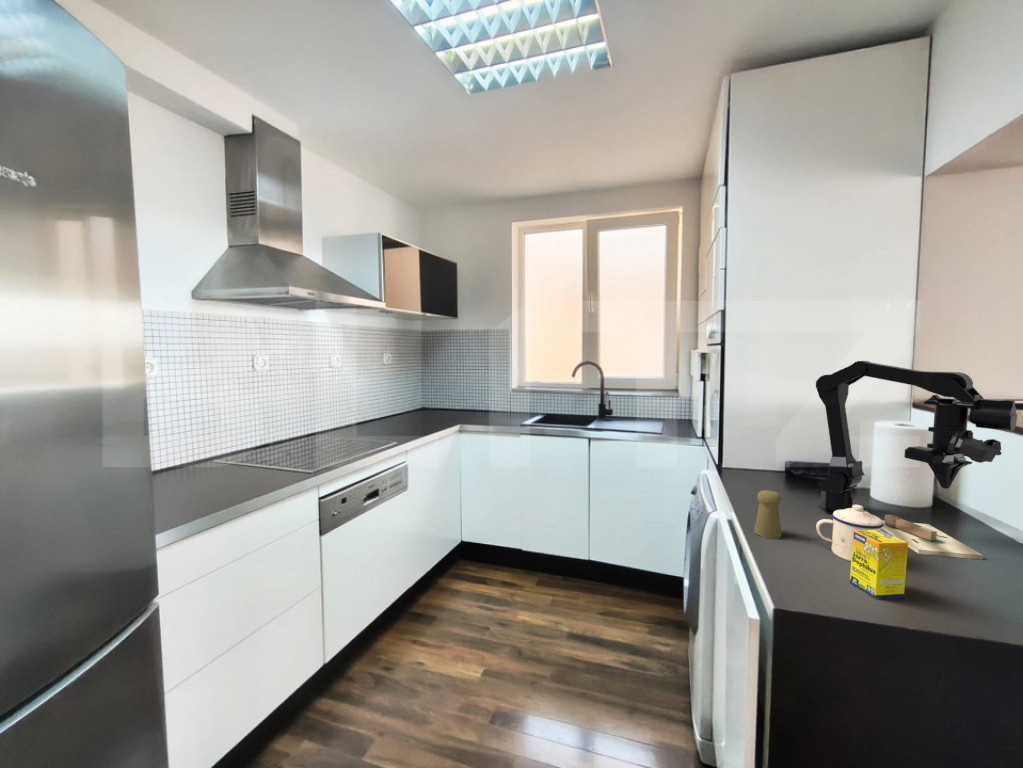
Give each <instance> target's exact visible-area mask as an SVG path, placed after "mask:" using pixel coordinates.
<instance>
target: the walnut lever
mask: <svg viewBox="0 0 1023 768" xmlns="http://www.w3.org/2000/svg"><path fill="white" fill-rule="evenodd" d="M884 521H885V525H888V526H891V527H896V528H899V529H901V530H904V531H906V532H909V533H911V534H914V535H917V536H919V537H922V538H924V539H927V540H929V541H935V540H936V536H937V532H936V531H933V530H930V529H928V528H925V527H922V526H919V525H917V524H914V523H915V522H912V521H908V520H906V519H902V517H901V516H897V515H894V514H885V515H884Z"/></svg>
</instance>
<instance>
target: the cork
mask: <svg viewBox="0 0 1023 768" xmlns="http://www.w3.org/2000/svg"><path fill="white" fill-rule="evenodd" d="M756 498H757V502H759V505H758V510H757V515H756V520H755V524H754V530H753V533H754V532H755V533H756V534H758V535H760V536H762V537H761V538H763V537H766V538H765V539H767V538H771V539H770V540H778V539H777V538H780V537H781V536H782V528H781V520H780V510H779V507H780V506H781V503H782V496H781V494H780V493H779V492H776V491H774V490H768V489H766V490H765V489H764V490H763V489H762V490H759V492H758V494H757V497H756ZM755 533H754V534H755ZM756 534H755V535H756ZM758 535H757V536H758ZM760 536H759V537H760ZM781 538H782V537H781ZM781 538H780V539H781Z"/></svg>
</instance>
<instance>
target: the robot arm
mask: <svg viewBox="0 0 1023 768" xmlns="http://www.w3.org/2000/svg"><path fill="white" fill-rule="evenodd" d="M864 377H868V378H873V379H879V380H884V381H889V382H895V383H900V384H903V385H910V386H914V387H918V388H920V389H922V390H925V391H927V392H930V393H932V394H933V395H931V397H929V398H928V399H927V400H924V401H923V404H924V405H930V406H931V405H932V406H934V413H933V415H934V416H933V426H928V428H927V430H928V432H931V433H932V441H931V442H930V443H927V445H926V446H925V447H924V446H908V447H907V448H905V449H904V456H903V457H904V458H905V459H909V460H912V461H917V462H921V463H925V464H927V465H928V466H929V467H930V469H931V470H932V473H933V474H934V476H935V478H936V480H937V482H938V484H939V485H940V487H941V489H946V490H948V489H950V488H951V486H952V483H953V482H954V481H955V479H956V477H957V475H958V474H959V472H960V471H961V469H962V468H963V467H966V466H968V465H972V464H973V462H975V463H980V464H981V463H984V462H987V463H992V462H993V460H994V459H995V458H996V457H997V456H1001V455H1002V451H1001V450H1002V442H1001V441H1000V440H997V439H994V438H990V439H989V438H987V439H986V440H982V439H977V438H975V437H974V432H973V430H970V429H968V419H969V422H970V423H971V424H972V425H975V427H976V428H980V429H989V430H997V431H998V430H999V431H1009V432H1014V431H1015V428H1016V425H1017V422H1018V421H1017V420H1018V414H1017V408H1016V400H1013V399H986V398H984V397H983V396H982V395H981V393H980V392H978V391H977V389H976V388H975V387H974V382H973V378H971V376H969V374H966V373H964V372H960V371H959V372H958V371H956V372H955V371H927V370H926V371H925V370H924V371H923V370H917V369H912V368H906V367H901V366H895V365H888V364H882V363H875V362H871V361H870V360H857V361H855V362H853V363H852V364H850V365H848V366H845V367H844V368H842V369H839V370H837V371H835V372H832V373H831V374H823V375H821V376H819V377H818V378H817V379H816V380H815V389H816V391H817V394H818V398H819V399H820V400H821V402H822V403H823V405H824V407H825V413H826V420H827V421H826V422H827V427H828V434H829V442H830V449H831V459H830V462H829V464H828V476H827V477H825V478H824V479H822V480H821V481H819V482H818V483H817V484H818V487H819V490H820V492H821V494H820V504H817V507H818V508H820V509H821V510H822V511H824V512H825V513H826V514H829V515H832V514H833V512H834V511H836V510H843V509H848V508H852V506H853V502H854V501H853V499H854V497H852V492H851V490H853V488H854V487H855V486H856V485H858V484H860V483H861V482H862V480H863V476H865V473H864V470H863V461H862V460H856V459H855V456H854V455H853V451H852V446H851V444H852V443H851V439H850V438H851V437H850V431H849V430H850V429H849V425H848V424H849V423H848V417H847V411H846V404H847V403H846V402H847V399H848V396H849V389H850V388H849V387H850V385H853V384H855V383H856V382H858V381H860V380H861V379H863V378H864ZM940 396H941V397H940ZM942 397H944V398H942ZM945 397H946V398H945ZM959 402H960V403H959ZM969 408H970V409H969ZM968 416H969V417H968ZM966 457H967V458H969V459H970V460H971V461H968V460H967V458H966Z"/></svg>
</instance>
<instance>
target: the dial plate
mask: <svg viewBox="0 0 1023 768" xmlns="http://www.w3.org/2000/svg"><path fill="white" fill-rule="evenodd" d="M882 522H883V527H882V531H884V532H885V533H887V534H889V535H891V536H894V537H896V538H898V539H900V540H902V541H905V542H907V543H908V549H911V550H912V551H913V552H915V553H916V554H918V555H928V556H929V555H930V556H940V557H949V558H961V559H970V560H971V559H975V560H983V559H984V555H983V554H981V553H980V552H978V551H977V550H974V549H973V548H971V547H969V546H968V545H966V544H964V543H963V542H961V541H959V540H957V539H956V538H954V537H952V536H950V535H948V534H947V533H945V532H943V531H941V530H939V529H937V528H936V527H934V526H932V525H931V524H929V523H921V522H920V523H917V522H913V523H914V524H917V525H919V526H922V527H925V528H928V529H930V530H933V531H936V532H937V536H936V540H935V541H929V540H927V539H924V538H922V537H919V536H917V535H914V534H911V533H909V532H906V531H904V530H901V529H899V528H896V527H891V526H888V525H885V520H882Z"/></svg>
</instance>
